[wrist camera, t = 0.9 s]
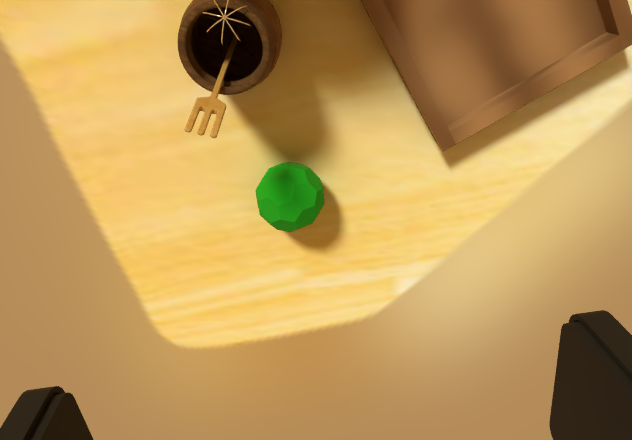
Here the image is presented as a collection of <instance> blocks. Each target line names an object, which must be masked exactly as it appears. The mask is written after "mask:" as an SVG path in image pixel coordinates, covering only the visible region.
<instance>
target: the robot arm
mask: <svg viewBox="0 0 632 440" xmlns="http://www.w3.org/2000/svg"><path fill="white" fill-rule="evenodd" d="M550 431H551V434H552V437H553V440H632V335H631V334H630V333H629V332H628V331H627V330H626V329H625V328H624V327H623V326H622V325H621V324H620V323H619V322H618V321H617V320H616V319H615V318H614V317H613V316H612V315H611V314H610V313H609V312H607V311H604V310H602V311H595V312H587V313H580V314H575V315H572V316H571V317H570V320H569V323H566V324H563V326H562V329H561V336H560V343H559V351H558V359H557V367H556V375H555V383H554V392H553V399H552V407H551V415H550ZM0 440H93V438H92V435H91V433H90V431H89V429H88V427H87V425H86V422H85V420H84V418H83V416H82V414H81V412H80V409H79V407H78V405H77V403H76V400H75V398H74V397H73V395H72V394H71V393H65V392H64V390H63V389H62V388H60V387H59V386H58V387H57V386H56V387H48V388H40V389H34V390H27V391H25V392H24V393H23V394H22V395H21V396H20V397H19V399H18V401H17V402H16V404H15V405H14V407H13V408H12V410H11V412H10V413H9V415H8V417H7V418H6V420H5V422H4V423H3V425H2V426H1V428H0Z"/></svg>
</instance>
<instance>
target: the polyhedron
mask: <svg viewBox="0 0 632 440" xmlns="http://www.w3.org/2000/svg"><path fill="white" fill-rule="evenodd" d="M256 196H257V203H258V208H259V212H260V215H261V216H262V217H263V218H264V219H265V220H266V221H267V222H268V223H269V224H270V225H272V226H273V227H274V228H276V229H277V230H283V231H288V232H291V231H294V230H297V229H299V228H302V227H304V226H307V225H309V224H312V223H313V221H314V220H315V218H316V217H317V215H318V214H319V212H320V210H321V208H322V206H323V204H324V193H323V187H322V184H321V181H320V178H319V177H318V176H317V175H316V174H315V173H314V172H313V171H312V170H311V169H310V168H308V167H306V166H304V165H301V164H296V163H291V162H286V163H281V164H279V165H276V166H274V167H272V168H269V169H268V171H267V172H266V174H265V176H264V177H263V179H262V180H261V182H260V184H259V185H258V187H257V189H256Z"/></svg>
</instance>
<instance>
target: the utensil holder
mask: <svg viewBox="0 0 632 440" xmlns="http://www.w3.org/2000/svg"><path fill="white" fill-rule="evenodd" d="M281 38H282V34H281V25H280V21H279V18H278V15H277V13H276V11H275V9H274V7H273V6H272V4H271V3H270V2H269V0H193V1H192V2H191V3H190V5H189V6H188V8H187V9H186V11H185V13H184V15H183V18H182V21H181V25H180V29H179V33H178V51H179V56H180V59H181V62H182V64H183V66H184V68H185V70H186V71H187V73H188V74H189V76H190V77H191V78H192V79H193V80H194V81H195V82H196V83H197V84H199V85H200V86H202V87H203V88H205V89H207V90H209V91H211V92H212V94H211V96H210V97H200V98H197V100H196V102H195V105H194V107H193V110H192V112H191V115H190V117H189V120H188V122H187V125H186V127H185V131H186V132H191V131H192V128H193V126H194V123H195V121H196V118H197V116H198V114H199V111H204V112H205V113H204V116H203V119H202V121H201V124H200V127H199V130H198V134H199V135H204V133H205V130H206V127H207V125H208V122H209V119H210V116H211V114H217V116H216V119H215V122H214V125H213V128H212V131H211V134H210V136H211V137H212V138H216V137H217V134H218V131H219V128H220V125H221V122H222V119H223V116H224V113H225V110H226V104H225V103H223V102H222V101H220V100H218V99H217V97H218V94H224V95H233V94H238V93H242V92H245V91H247V90H249V89H251V88H253V87H254V86H256V85H258V84H259V83H261V82H262V81H263V80H264V79H265V78H266V77H267V76H268V75H269V74H270V72H271V71H272V70H273V68H274V66H275V64H276V62H277V59H278V56H279V52H280V47H281Z"/></svg>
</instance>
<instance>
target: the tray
mask: <svg viewBox="0 0 632 440" xmlns="http://www.w3.org/2000/svg"><path fill="white" fill-rule="evenodd" d="M361 1H362V3H363V5H364V7H365V9H366V11H367V13H368V15H369V16H370V18H371V20H372V22H373V24H374V26H375V28H376V30H377V32H378V33H379V35H380V37H381V39H382V41H383V43H384V45H385V47H386V49H387V50H388V52H389V54H390V56H391V58H392V60H393V62H394V64H395V65H396V67H397V69H398V71H399V73H400V75H401V77H402V79H403V81H404V82H405V84H406V86H407V88H408V90H409V92H410V94H411V96H412V98H413V99H414V101H415V103H416V105H417V107H418V109H419V111H420V113H421V114H422V116H423V118H424V120H425V122H426V124H427V126H428V128H429V130H430V131H431V133H432V135H433V137H434V139H435V141H436V142H437V144H438V145H439V146H440V148H441V149H442V150H443V151H445V150H446V149H448V148H450V147H452V146H454V145H455V144H457V143H459V142H461V141H462V140H464V139H466V138H468V137H469V136H471V135H473V134H475V133H477V132H478V131H480V130H482V129H484V128H485V127H487V126H489V125H491V124H492V123H494V122H496V121H498V120H499V119H501V118H503V117H505V116H507V115H508V114H510V113H512V112H514V111H515V110H517V109H519V108H521V107H522V106H524V105H526V104H528V103H530V102H531V101H533V100H535V99H537V98H538V97H540V96H542V95H544V94H545V93H547V92H549V91H551V90H553V89H554V88H556V87H558V86H560V85H561V84H563V83H565V82H567V81H568V80H570V79H572V78H574V77H575V76H577V75H579V74H581V73H583V72H584V71H586V70H588V69H590V68H591V67H593V66H595V65H597V64H598V63H600V62H602V61H604V60H606V59H607V58H609V57H611V56H613V55H614V54H616V53H618V52H620V51H621V50H623V49H625V48H627V47H629V46H630V45H632V15H631V11H630V8H629V4H628V1H627V0H361Z"/></svg>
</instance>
